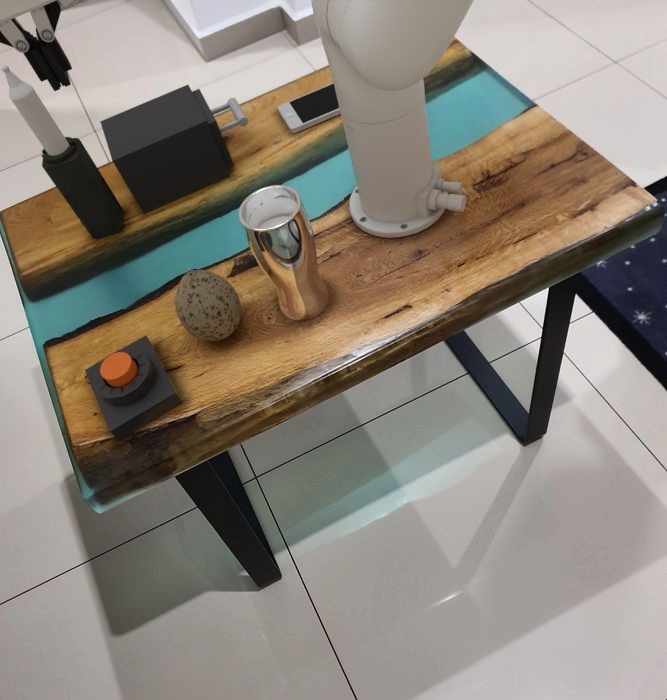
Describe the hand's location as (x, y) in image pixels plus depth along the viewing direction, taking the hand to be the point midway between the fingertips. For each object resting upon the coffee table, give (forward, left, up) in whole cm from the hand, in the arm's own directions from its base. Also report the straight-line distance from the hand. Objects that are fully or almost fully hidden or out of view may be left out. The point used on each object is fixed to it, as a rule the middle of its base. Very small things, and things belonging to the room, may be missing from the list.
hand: (61, 81), depth 60 cm
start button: (-4, +15, -26) cm, 30 cm away
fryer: (+13, -19, -29) cm, 37 cm away
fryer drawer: (+10, -22, -28) cm, 37 cm away
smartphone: (-3, -39, -29) cm, 49 cm away
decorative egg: (-9, +5, -29) cm, 31 cm away
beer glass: (-17, -2, -29) cm, 34 cm away
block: (-3, +16, -29) cm, 33 cm away
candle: (+18, -7, -29) cm, 35 cm away
